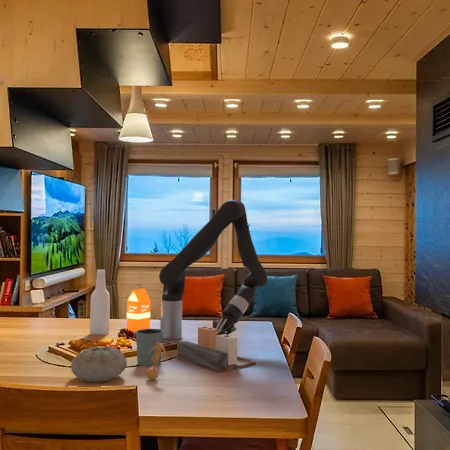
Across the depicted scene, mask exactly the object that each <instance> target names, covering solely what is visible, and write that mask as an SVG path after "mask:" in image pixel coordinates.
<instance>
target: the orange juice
mask: <svg viewBox="0 0 450 450" xmlns="http://www.w3.org/2000/svg"><path fill="white" fill-rule="evenodd" d="M127 329H128V330H127ZM140 329H151V299H150V296H149V294H148V292H147V290H146V288H137V289H133V290H132V291H131V293H130V295H129V297H128V298H127V299H126V330H127V331H129V330H131V332H135V333H136V331H137V330H140Z"/></svg>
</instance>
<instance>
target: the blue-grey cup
mask: <svg viewBox="0 0 450 450" xmlns="http://www.w3.org/2000/svg"><path fill="white" fill-rule="evenodd" d="M135 339H136V353H137V355H136V361H137V365H138V366H140V367H144V368H145V367H147V368H150V367H152V365H153V364H154V363H153V362H152V360H151V358H152V357H153V356H154V354H155V353H156V348H154V349H153V350H152V351H151V352H150V350H151V349H152V348H153V347H154V346H156V343H157V342H158V343H160V344H163V340H164V339H163V330H160V329H159V328H150V329H140V330H137V331H136V332H135ZM149 352H150V353H149ZM148 354H149V355H148ZM154 361H155V359H154ZM157 362H158V365H157V366H160V365H161V363H162V351H161V352H160V357H159V359H158V360H157ZM155 366H156V362H155V365H154V367H155Z"/></svg>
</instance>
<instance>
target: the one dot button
mask: <svg viewBox="0 0 450 450" xmlns="http://www.w3.org/2000/svg"><path fill="white" fill-rule="evenodd" d="M216 350H218V351H221V352H225V353H227V365H228V366H229V365H234V364H237V356H238V337H237V336H233V335H230V334H228V335H226V334H223V335H216Z"/></svg>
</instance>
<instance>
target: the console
mask: <svg viewBox="0 0 450 450" xmlns="http://www.w3.org/2000/svg"><path fill="white" fill-rule="evenodd" d="M176 345H177V347H176V348H177V354H175V358H176V359H179V360H181V361H184V362H186V363H191V364H192V365H196V366H197V367H201V368H203V369H206V370H209V371H212V372H215V373H218V374H221V373H224V372H229V371H235V370H238V369H242V368H247V367H251V366H257V361H254V360H250V359H248V358H245V357H241V356H238V355H237V364H234V365H229V366H228V365H227V353H225V352H221V351H218V350H215V349H212V348H208V347H205V346H202V345H199V344H198V343H195V342H192V341H189V340H184V341H179V342H178V341H177V344H176Z"/></svg>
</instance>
